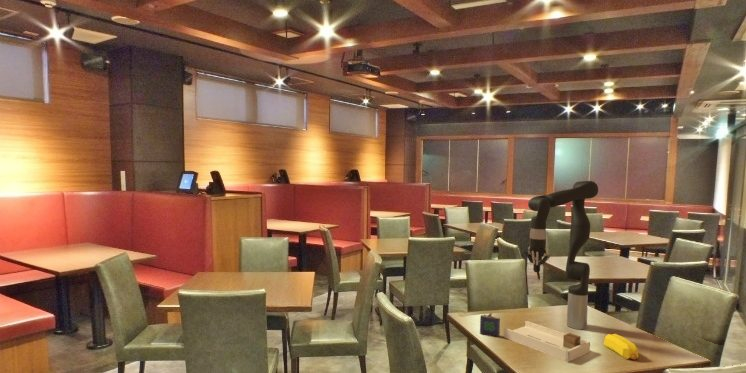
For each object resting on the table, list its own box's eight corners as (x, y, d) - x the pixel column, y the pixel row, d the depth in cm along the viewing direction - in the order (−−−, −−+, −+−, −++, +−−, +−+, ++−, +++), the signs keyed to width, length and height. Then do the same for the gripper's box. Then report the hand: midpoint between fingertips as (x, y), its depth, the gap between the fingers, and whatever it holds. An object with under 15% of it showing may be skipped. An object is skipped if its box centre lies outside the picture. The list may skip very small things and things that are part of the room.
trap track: (526, 329, 221) (526, 320, 220) (589, 351, 195) (590, 341, 195) (503, 337, 210) (504, 328, 210) (567, 362, 184) (568, 351, 184)
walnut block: (569, 343, 199) (569, 332, 199) (580, 347, 195) (580, 336, 195) (563, 346, 196) (563, 335, 196) (574, 350, 192) (574, 338, 192)
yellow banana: (626, 362, 186) (643, 361, 187) (627, 346, 186) (644, 345, 187) (599, 344, 204) (614, 344, 205) (599, 330, 204) (614, 330, 205)
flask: (499, 335, 212) (500, 313, 212) (499, 337, 210) (499, 315, 209) (480, 332, 216) (480, 310, 215) (479, 334, 213) (479, 312, 213)
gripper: (554, 238, 216) (553, 273, 217) (530, 235, 227) (529, 268, 228) (545, 240, 212) (544, 275, 213) (521, 236, 222) (520, 270, 223)
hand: (536, 272), depth 220 cm, fingers closed
